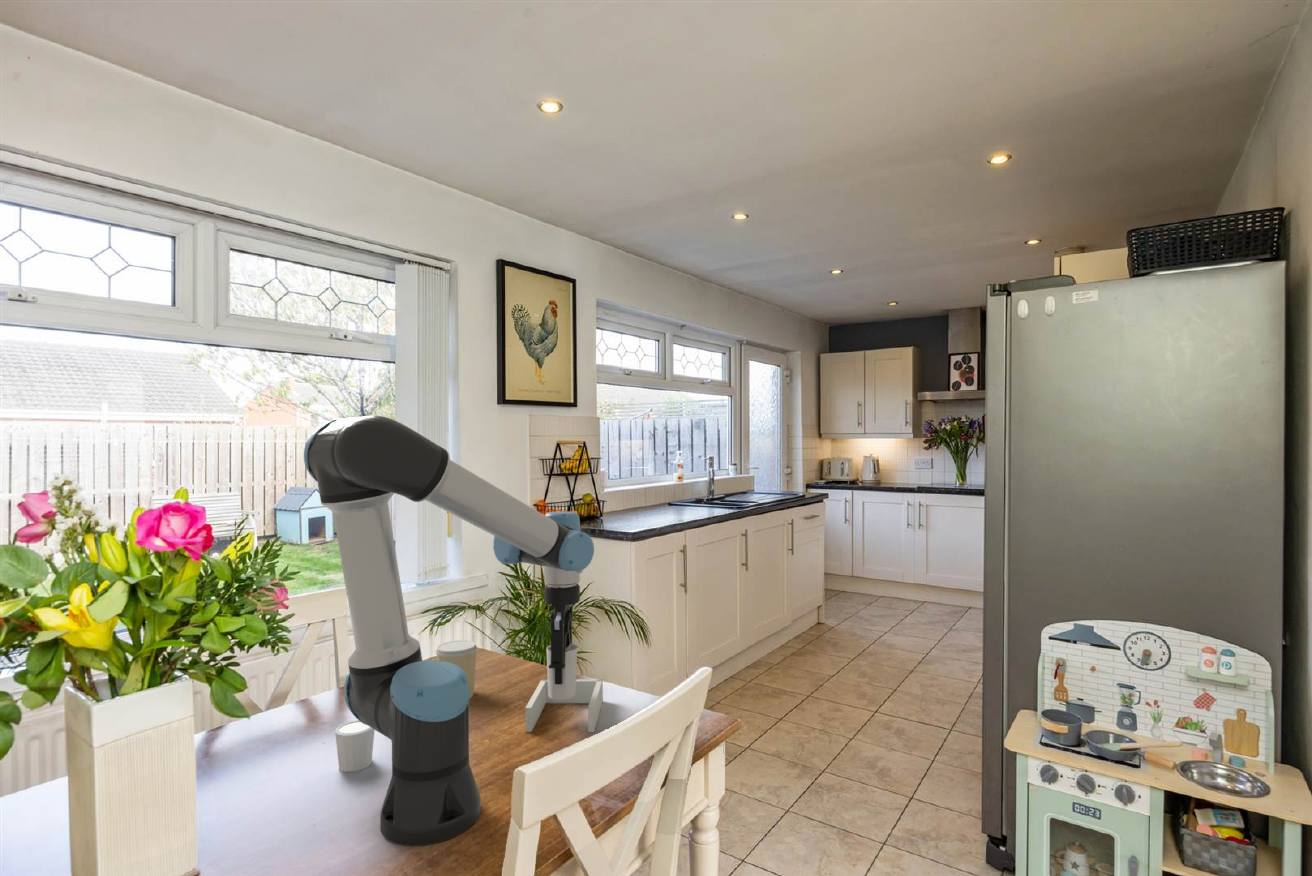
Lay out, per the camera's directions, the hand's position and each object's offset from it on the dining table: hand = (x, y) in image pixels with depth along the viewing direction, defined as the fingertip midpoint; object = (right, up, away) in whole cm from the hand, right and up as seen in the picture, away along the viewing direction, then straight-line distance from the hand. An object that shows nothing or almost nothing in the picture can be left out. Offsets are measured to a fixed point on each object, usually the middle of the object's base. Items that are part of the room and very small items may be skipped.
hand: (561, 692), depth 143 cm
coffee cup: (-27, -7, +16) cm, 32 cm away
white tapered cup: (-36, -7, -18) cm, 41 cm away
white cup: (0, -1, 0) cm, 1 cm away
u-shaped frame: (+1, -6, +4) cm, 7 cm away
